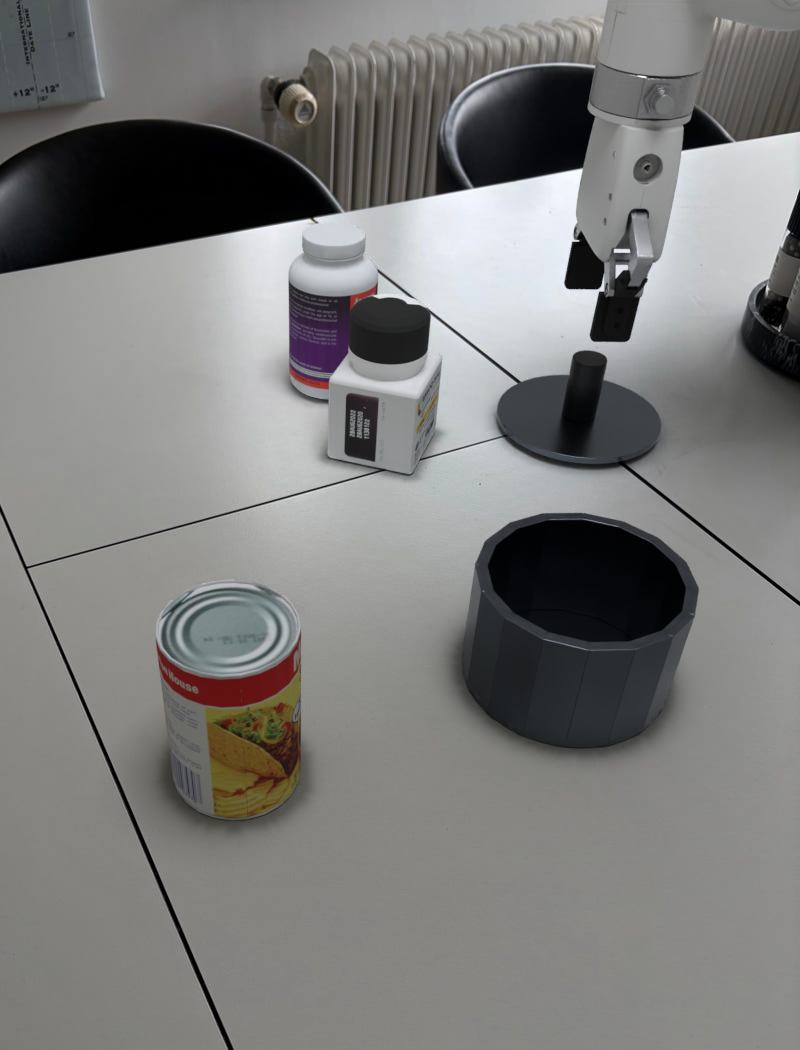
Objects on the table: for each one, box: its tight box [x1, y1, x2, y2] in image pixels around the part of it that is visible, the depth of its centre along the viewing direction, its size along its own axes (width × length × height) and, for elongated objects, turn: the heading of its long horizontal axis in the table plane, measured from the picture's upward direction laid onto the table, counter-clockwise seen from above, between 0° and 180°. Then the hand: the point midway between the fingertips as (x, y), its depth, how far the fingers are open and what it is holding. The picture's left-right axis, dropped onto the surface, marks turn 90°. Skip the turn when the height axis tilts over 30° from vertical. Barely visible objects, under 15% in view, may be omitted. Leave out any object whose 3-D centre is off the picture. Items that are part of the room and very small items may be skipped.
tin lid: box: [496, 349, 662, 465], centre depth 92 cm, size 15×15×7 cm
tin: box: [461, 512, 700, 749], centre depth 68 cm, size 14×14×8 cm
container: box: [327, 293, 443, 475], centre depth 87 cm, size 8×8×13 cm
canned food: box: [154, 578, 302, 821], centre depth 60 cm, size 8×8×12 cm
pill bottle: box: [287, 221, 379, 401], centre depth 95 cm, size 8×8×14 cm
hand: (594, 313), depth 87 cm, fingers open, 9 cm apart
